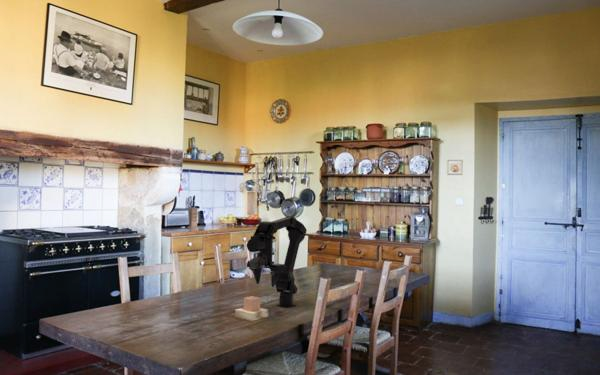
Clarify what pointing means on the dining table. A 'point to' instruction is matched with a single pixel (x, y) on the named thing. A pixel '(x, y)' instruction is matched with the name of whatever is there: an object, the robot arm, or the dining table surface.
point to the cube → (251, 303)
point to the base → (251, 314)
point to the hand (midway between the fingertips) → (265, 285)
